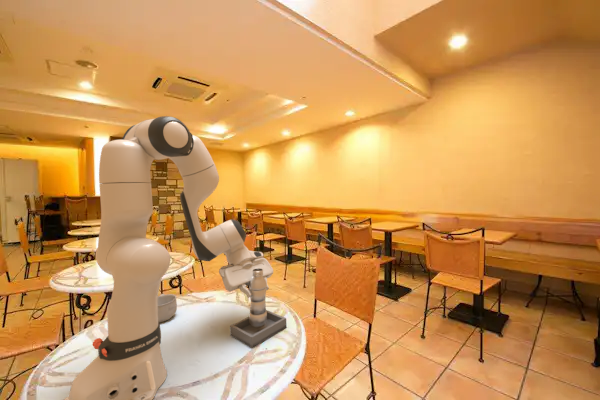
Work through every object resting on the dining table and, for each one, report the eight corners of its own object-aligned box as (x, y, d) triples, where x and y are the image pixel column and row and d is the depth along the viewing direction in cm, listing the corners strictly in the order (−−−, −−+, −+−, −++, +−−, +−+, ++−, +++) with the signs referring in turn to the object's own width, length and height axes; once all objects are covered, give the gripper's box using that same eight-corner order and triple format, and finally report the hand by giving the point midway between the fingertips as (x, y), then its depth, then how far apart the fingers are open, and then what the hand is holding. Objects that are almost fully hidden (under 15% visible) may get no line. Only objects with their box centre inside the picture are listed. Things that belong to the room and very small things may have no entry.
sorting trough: (252, 348, 82) (251, 337, 82) (230, 335, 89) (230, 325, 89) (286, 327, 94) (286, 318, 94) (264, 317, 102) (264, 309, 101)
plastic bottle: (269, 320, 95) (268, 267, 94) (264, 330, 88) (264, 273, 87) (252, 319, 95) (251, 266, 95) (246, 329, 89) (246, 272, 88)
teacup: (174, 323, 99) (173, 302, 99) (142, 327, 96) (141, 306, 96) (180, 307, 113) (180, 289, 112) (153, 311, 110) (152, 293, 110)
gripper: (220, 262, 88) (238, 297, 81) (265, 251, 103) (283, 280, 97) (213, 273, 91) (230, 307, 84) (258, 260, 106) (275, 289, 100)
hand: (259, 292), depth 91 cm, fingers closed on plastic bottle, 6 cm apart
